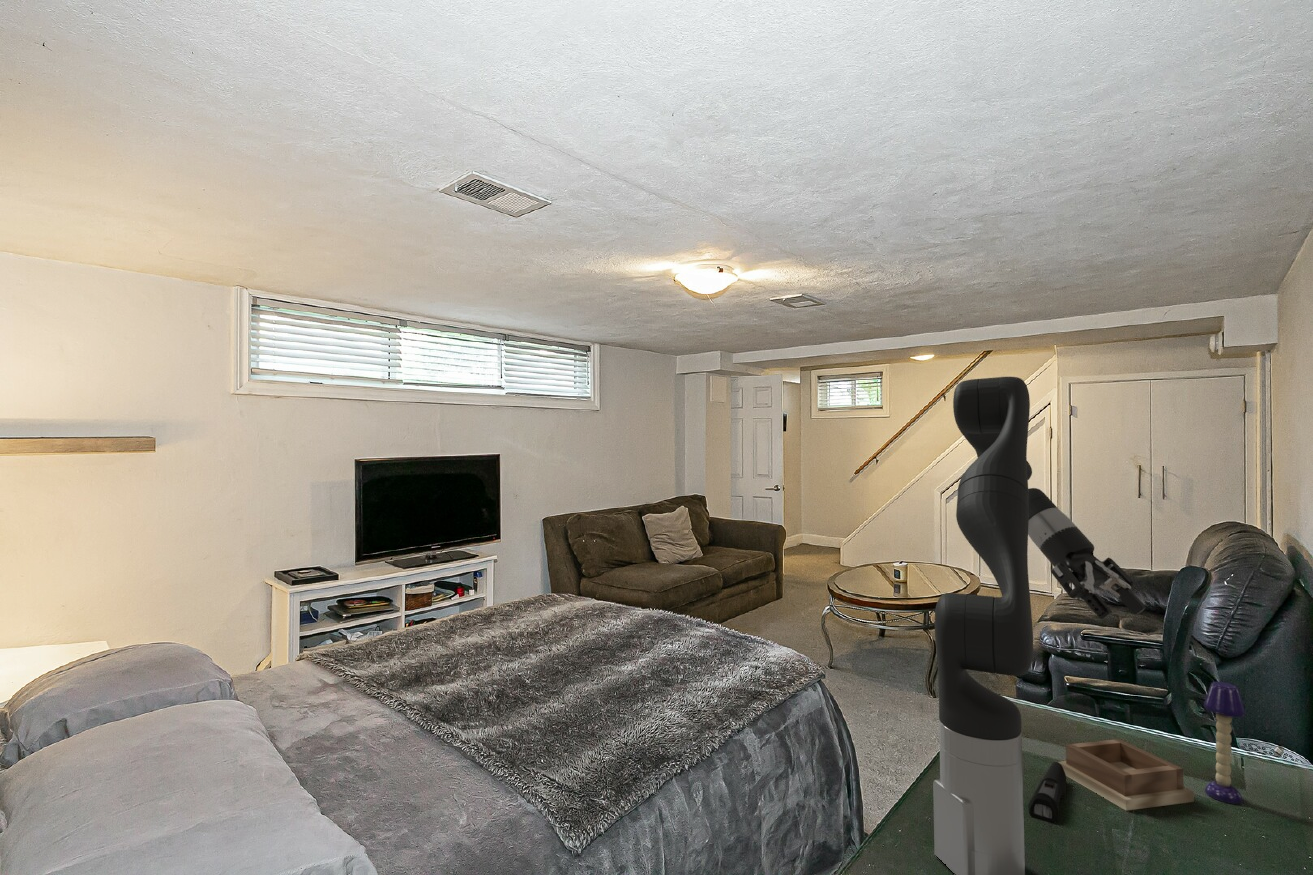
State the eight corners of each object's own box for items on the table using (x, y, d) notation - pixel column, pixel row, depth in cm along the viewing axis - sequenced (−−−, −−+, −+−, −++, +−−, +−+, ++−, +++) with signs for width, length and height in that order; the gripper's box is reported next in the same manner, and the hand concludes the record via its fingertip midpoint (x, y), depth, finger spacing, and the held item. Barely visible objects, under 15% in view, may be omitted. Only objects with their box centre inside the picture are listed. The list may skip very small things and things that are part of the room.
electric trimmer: (1072, 785, 100) (1072, 764, 101) (1058, 827, 88) (1057, 803, 89) (1044, 777, 103) (1044, 757, 103) (1026, 817, 91) (1026, 794, 91)
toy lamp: (1231, 790, 98) (1227, 679, 98) (1257, 806, 93) (1252, 690, 94) (1197, 788, 98) (1193, 678, 99) (1221, 804, 94) (1217, 688, 94)
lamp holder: (1125, 810, 92) (1125, 778, 92) (1058, 771, 104) (1057, 742, 104) (1193, 801, 94) (1192, 770, 95) (1120, 764, 106) (1119, 736, 106)
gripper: (1043, 526, 114) (1111, 605, 103) (1097, 523, 120) (1168, 597, 109) (1018, 552, 119) (1080, 630, 108) (1071, 548, 124) (1135, 621, 113)
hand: (1124, 613), depth 108 cm, fingers open, 8 cm apart
